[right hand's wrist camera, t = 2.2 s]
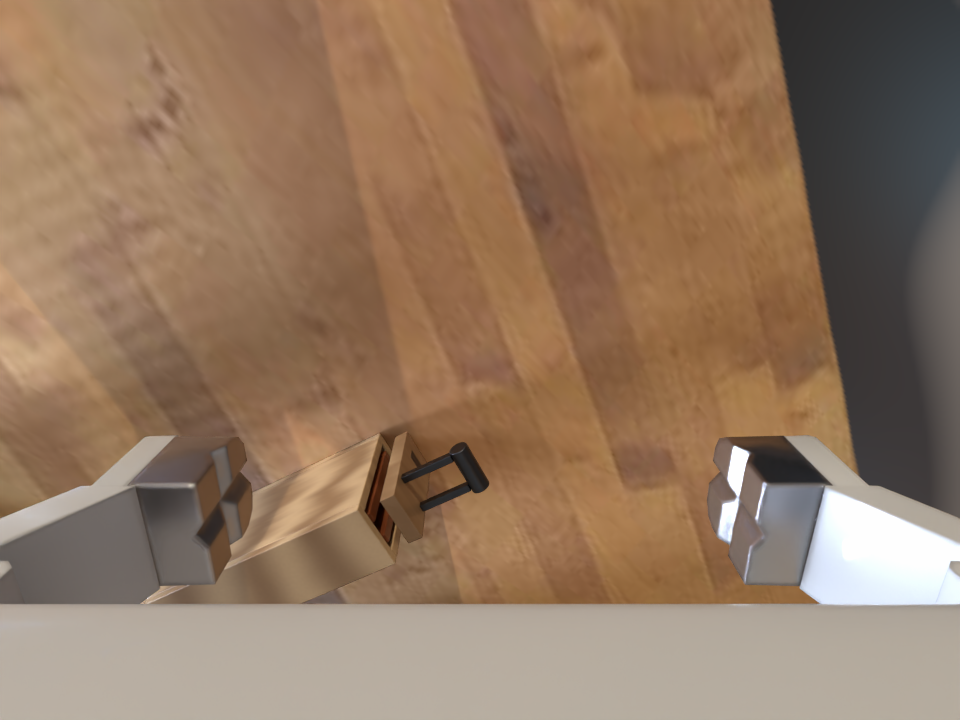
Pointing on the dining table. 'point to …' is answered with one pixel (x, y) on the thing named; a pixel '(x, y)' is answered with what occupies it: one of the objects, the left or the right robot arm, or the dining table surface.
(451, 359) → the dining table surface
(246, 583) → the tall slotted tan box
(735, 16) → the dining table surface
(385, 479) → the drawer
